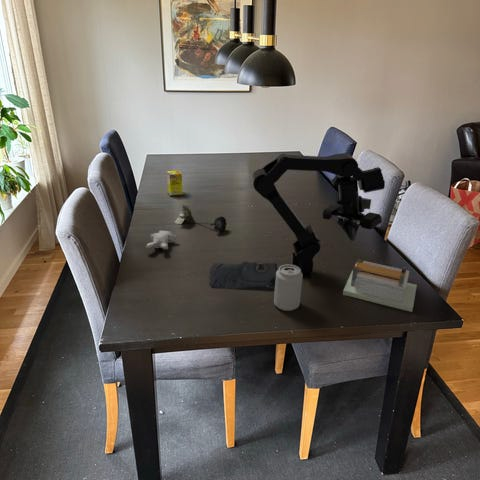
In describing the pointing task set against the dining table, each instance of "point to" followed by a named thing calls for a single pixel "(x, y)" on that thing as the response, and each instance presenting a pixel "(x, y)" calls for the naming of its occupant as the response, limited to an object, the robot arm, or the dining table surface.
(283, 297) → the can
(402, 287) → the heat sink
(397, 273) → the strap
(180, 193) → the supplement box
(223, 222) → the artificial flower
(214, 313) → the dining table surface
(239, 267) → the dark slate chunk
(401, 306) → the board
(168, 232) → the bunny figurine
